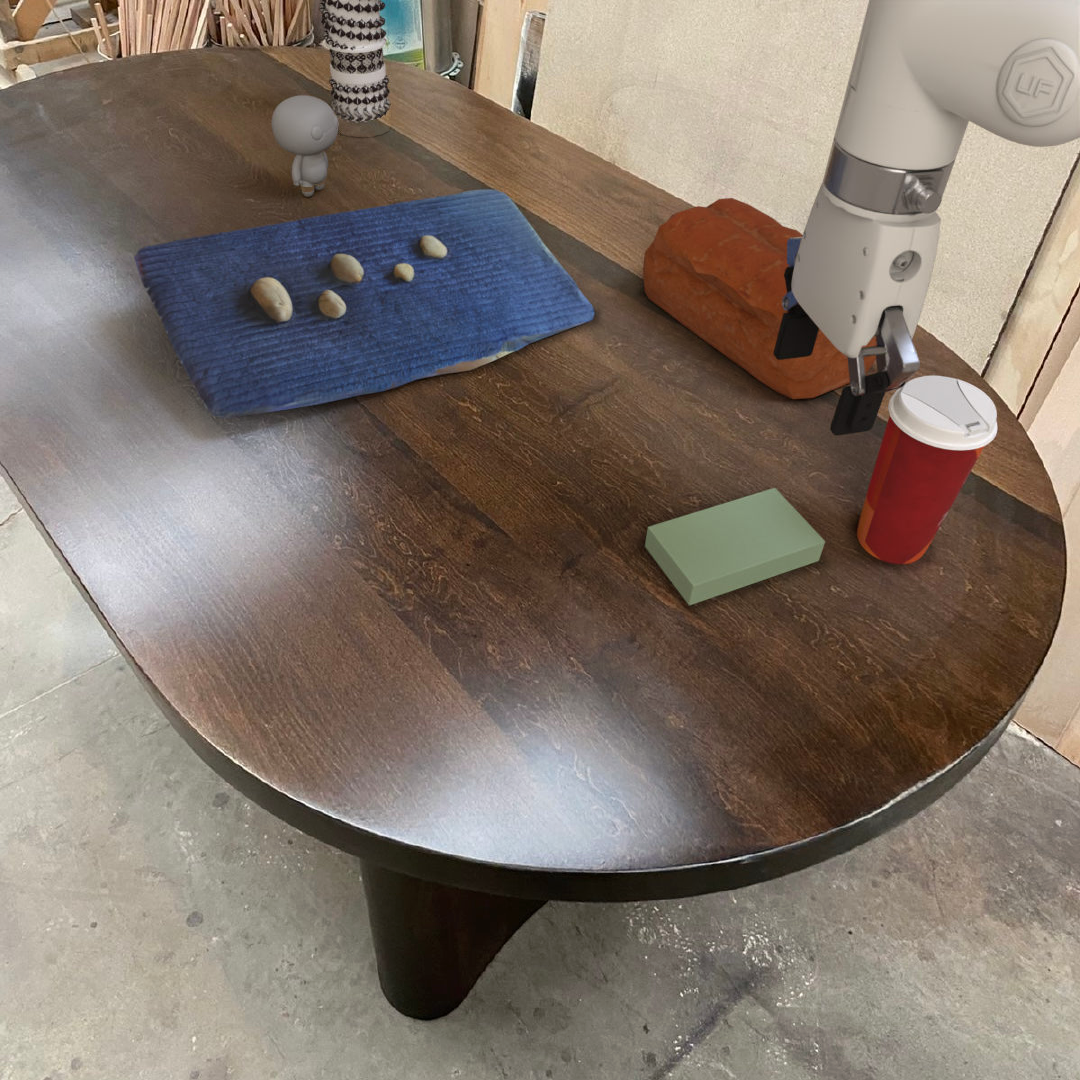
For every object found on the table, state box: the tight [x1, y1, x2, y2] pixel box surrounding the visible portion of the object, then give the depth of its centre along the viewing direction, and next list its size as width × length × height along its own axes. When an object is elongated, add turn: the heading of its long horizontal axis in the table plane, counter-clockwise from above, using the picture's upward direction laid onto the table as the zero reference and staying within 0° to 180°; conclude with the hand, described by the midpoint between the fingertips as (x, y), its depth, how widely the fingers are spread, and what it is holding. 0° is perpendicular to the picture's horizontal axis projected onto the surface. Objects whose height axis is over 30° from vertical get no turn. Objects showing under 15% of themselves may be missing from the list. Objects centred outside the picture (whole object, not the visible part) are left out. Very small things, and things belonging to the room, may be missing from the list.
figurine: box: [271, 94, 339, 198], centre depth 124 cm, size 8×8×12 cm
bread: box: [642, 197, 877, 400], centre depth 104 cm, size 16×27×11 cm, turn 34°
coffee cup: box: [856, 375, 998, 565], centre depth 79 cm, size 8×8×15 cm
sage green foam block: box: [644, 487, 826, 606], centre depth 82 cm, size 13×7×2 cm, turn 115°
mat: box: [133, 188, 596, 419], centre depth 106 cm, size 45×27×12 cm, turn 124°
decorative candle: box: [318, 0, 392, 123], centre depth 135 cm, size 9×9×25 cm
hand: (819, 391), depth 74 cm, fingers open, 9 cm apart
